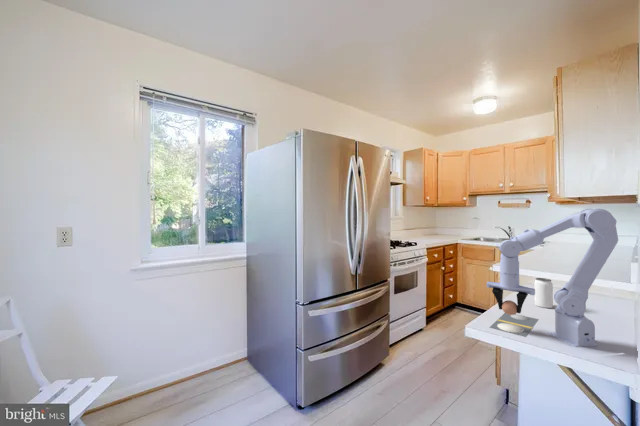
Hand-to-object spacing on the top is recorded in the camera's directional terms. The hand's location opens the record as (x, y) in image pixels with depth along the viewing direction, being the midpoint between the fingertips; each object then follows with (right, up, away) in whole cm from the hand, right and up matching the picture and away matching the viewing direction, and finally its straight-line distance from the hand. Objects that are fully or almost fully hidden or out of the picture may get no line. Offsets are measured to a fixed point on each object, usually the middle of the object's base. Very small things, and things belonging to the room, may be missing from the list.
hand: (509, 310), depth 101 cm
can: (+31, -7, +24) cm, 40 cm away
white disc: (0, -6, 0) cm, 6 cm away
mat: (+5, -7, +4) cm, 9 cm away
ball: (0, +1, 0) cm, 1 cm away
